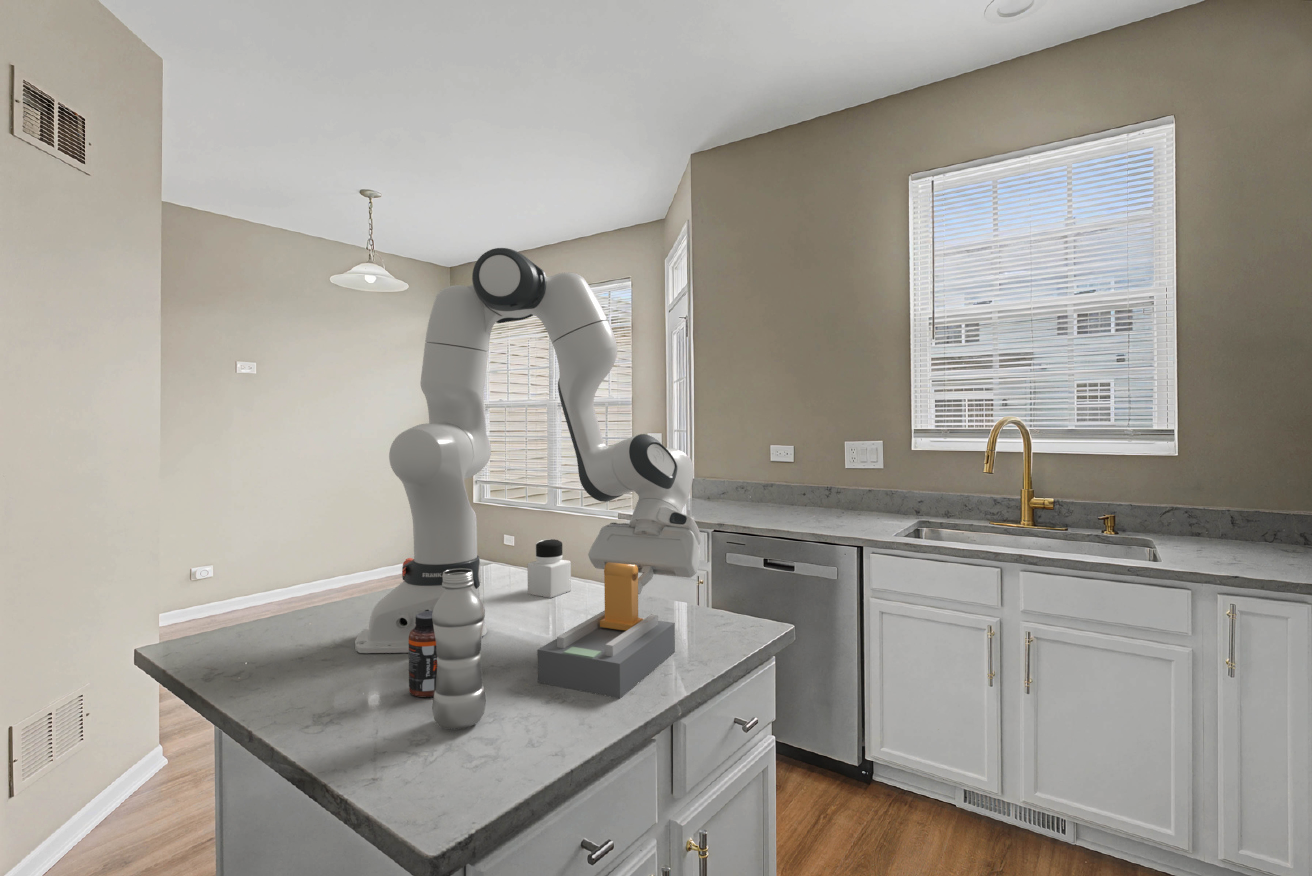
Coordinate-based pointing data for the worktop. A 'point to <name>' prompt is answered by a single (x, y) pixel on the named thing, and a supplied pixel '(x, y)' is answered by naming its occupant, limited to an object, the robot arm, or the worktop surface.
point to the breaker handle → (620, 596)
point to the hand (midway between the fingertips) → (630, 591)
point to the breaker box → (605, 656)
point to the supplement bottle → (422, 656)
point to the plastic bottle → (458, 652)
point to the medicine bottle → (549, 570)
